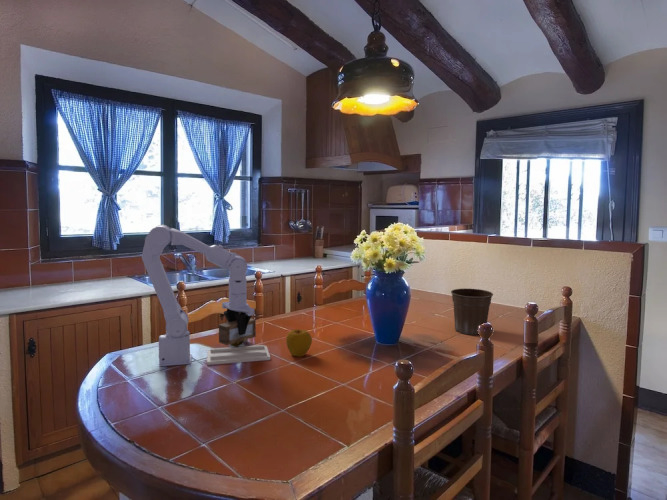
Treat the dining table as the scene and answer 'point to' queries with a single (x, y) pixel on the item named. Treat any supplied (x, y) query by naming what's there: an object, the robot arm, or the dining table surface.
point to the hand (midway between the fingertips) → (237, 332)
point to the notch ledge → (237, 354)
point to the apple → (298, 342)
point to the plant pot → (470, 309)
